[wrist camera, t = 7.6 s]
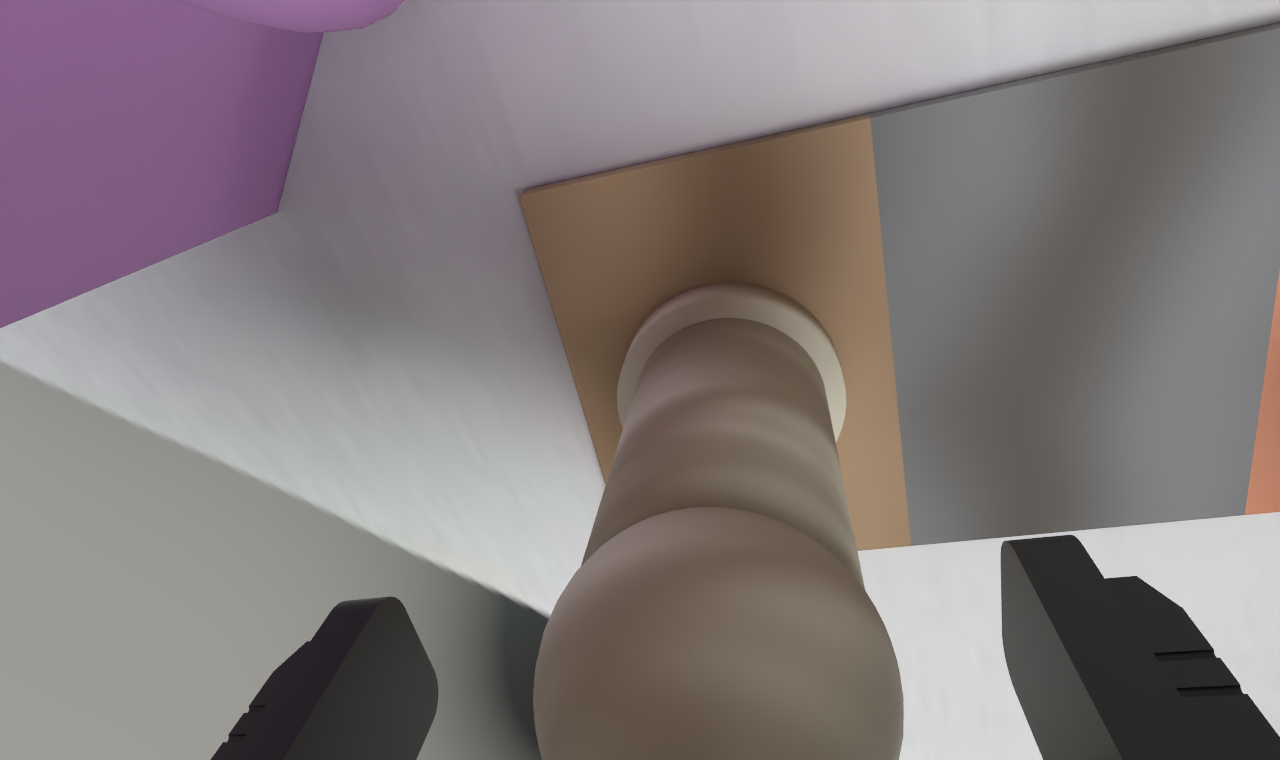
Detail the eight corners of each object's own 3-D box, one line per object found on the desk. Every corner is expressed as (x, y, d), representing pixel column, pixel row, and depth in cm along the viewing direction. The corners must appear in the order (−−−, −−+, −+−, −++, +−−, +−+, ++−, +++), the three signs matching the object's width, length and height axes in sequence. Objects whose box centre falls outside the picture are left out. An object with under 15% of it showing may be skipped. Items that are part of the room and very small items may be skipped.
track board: (2569, -264, 9) (2678, -280, 9) (2098, 414, 13) (2154, 430, 13) (526, 189, 15) (517, 195, 15) (635, 556, 20) (632, 571, 19)
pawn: (826, 263, 15) (956, 686, 5) (852, 461, 17) (979, 1017, 7) (600, 303, 16) (389, 714, 6) (650, 485, 18) (541, 997, 8)
